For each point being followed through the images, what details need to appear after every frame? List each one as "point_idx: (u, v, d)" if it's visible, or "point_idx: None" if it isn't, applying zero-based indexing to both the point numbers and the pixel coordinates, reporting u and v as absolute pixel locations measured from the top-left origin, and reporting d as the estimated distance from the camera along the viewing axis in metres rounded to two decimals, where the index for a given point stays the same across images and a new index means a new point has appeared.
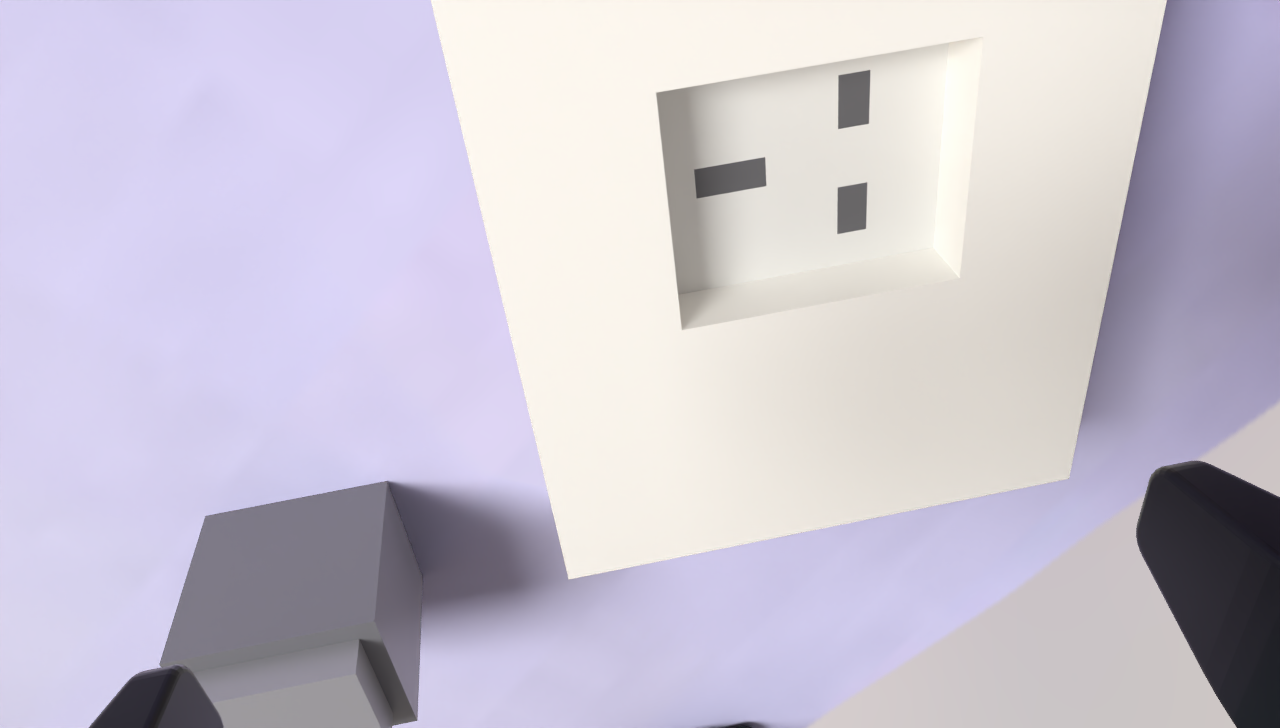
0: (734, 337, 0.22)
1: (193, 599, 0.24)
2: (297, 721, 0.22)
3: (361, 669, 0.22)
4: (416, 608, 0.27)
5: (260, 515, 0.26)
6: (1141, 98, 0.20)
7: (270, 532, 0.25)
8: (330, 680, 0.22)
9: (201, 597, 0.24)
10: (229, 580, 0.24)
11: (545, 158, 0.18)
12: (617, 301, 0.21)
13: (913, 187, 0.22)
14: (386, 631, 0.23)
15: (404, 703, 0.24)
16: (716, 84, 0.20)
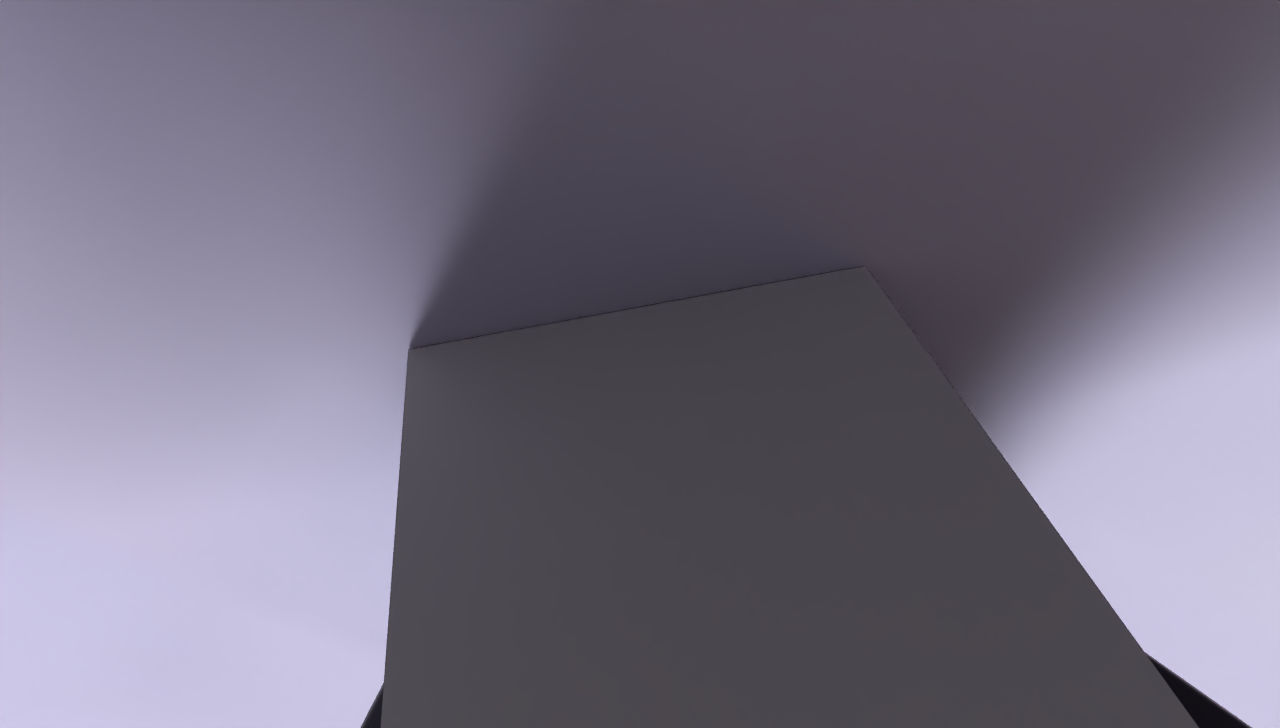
0: None
1: None
2: None
3: None
4: (875, 392, 0.07)
5: None
6: None
7: None
8: None
9: None
10: None
11: None
12: None
13: None
14: None
15: None
16: None
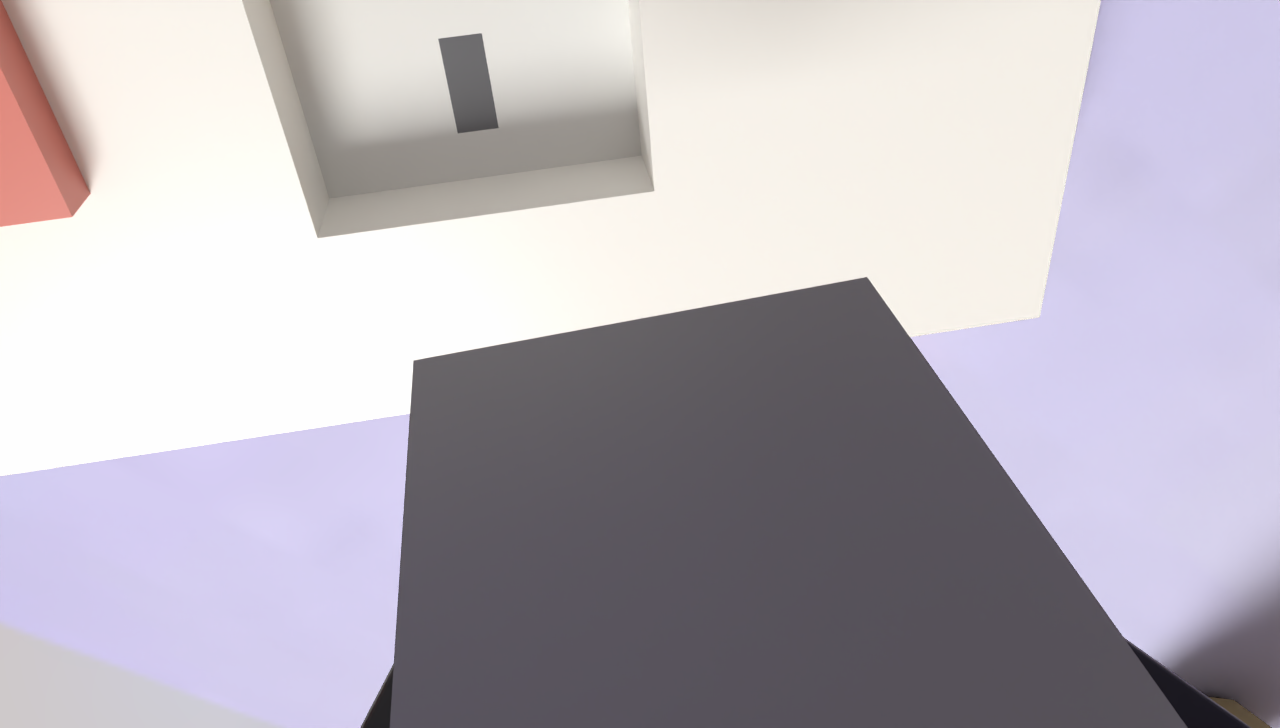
0: (677, 118, 0.15)
1: None
2: None
3: None
4: (877, 404, 0.07)
5: None
6: None
7: None
8: None
9: None
10: None
11: (408, 346, 0.17)
12: (599, 269, 0.16)
13: None
14: None
15: None
16: (341, 112, 0.16)
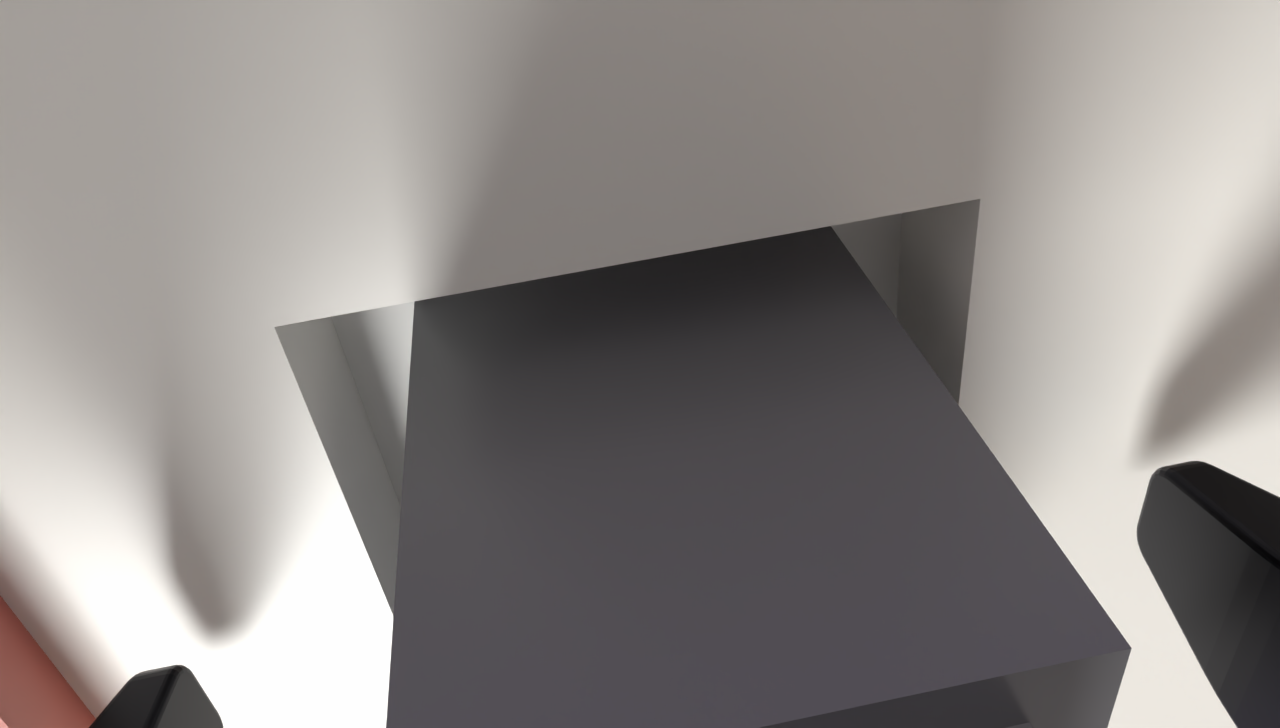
0: None
1: None
2: None
3: None
4: (833, 331, 0.08)
5: None
6: None
7: None
8: None
9: None
10: None
11: None
12: None
13: None
14: (556, 694, 0.05)
15: (988, 692, 0.05)
16: None
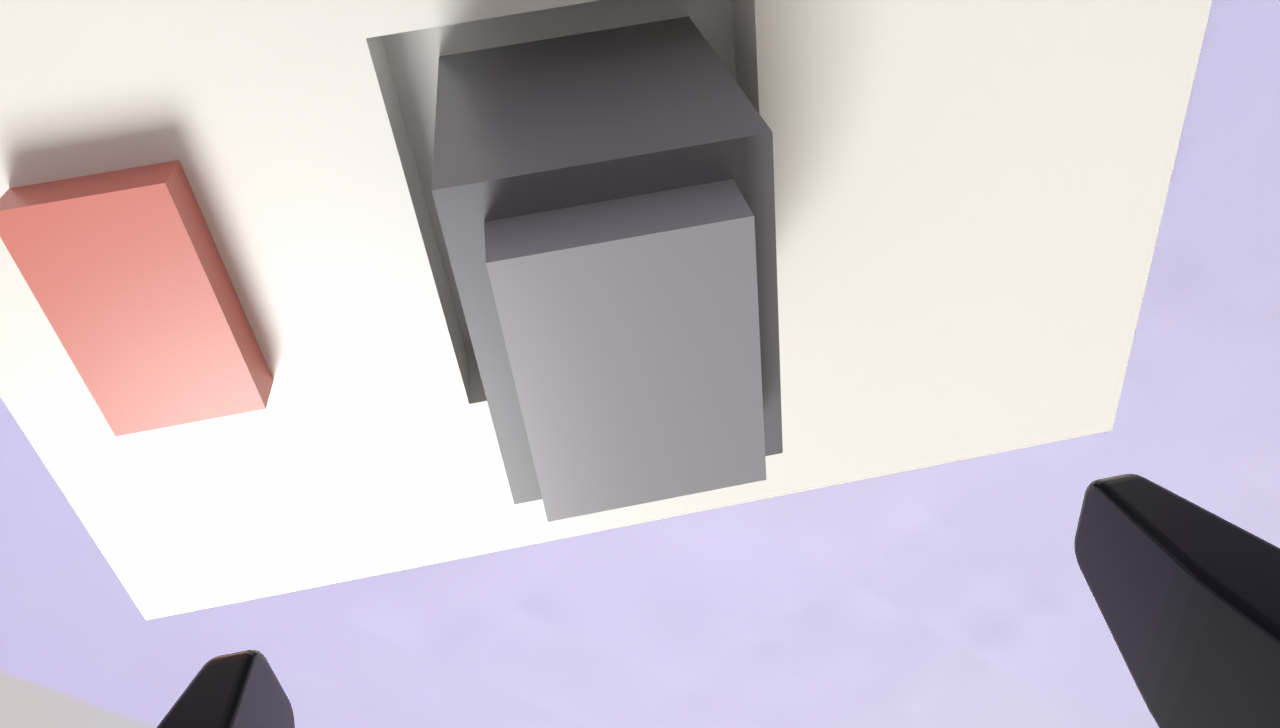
0: (792, 288, 0.17)
1: None
2: (617, 369, 0.11)
3: (518, 239, 0.11)
4: (675, 54, 0.14)
5: None
6: None
7: None
8: (501, 307, 0.11)
9: None
10: None
11: None
12: None
13: (625, 9, 0.15)
14: (511, 160, 0.11)
15: (708, 153, 0.11)
16: None
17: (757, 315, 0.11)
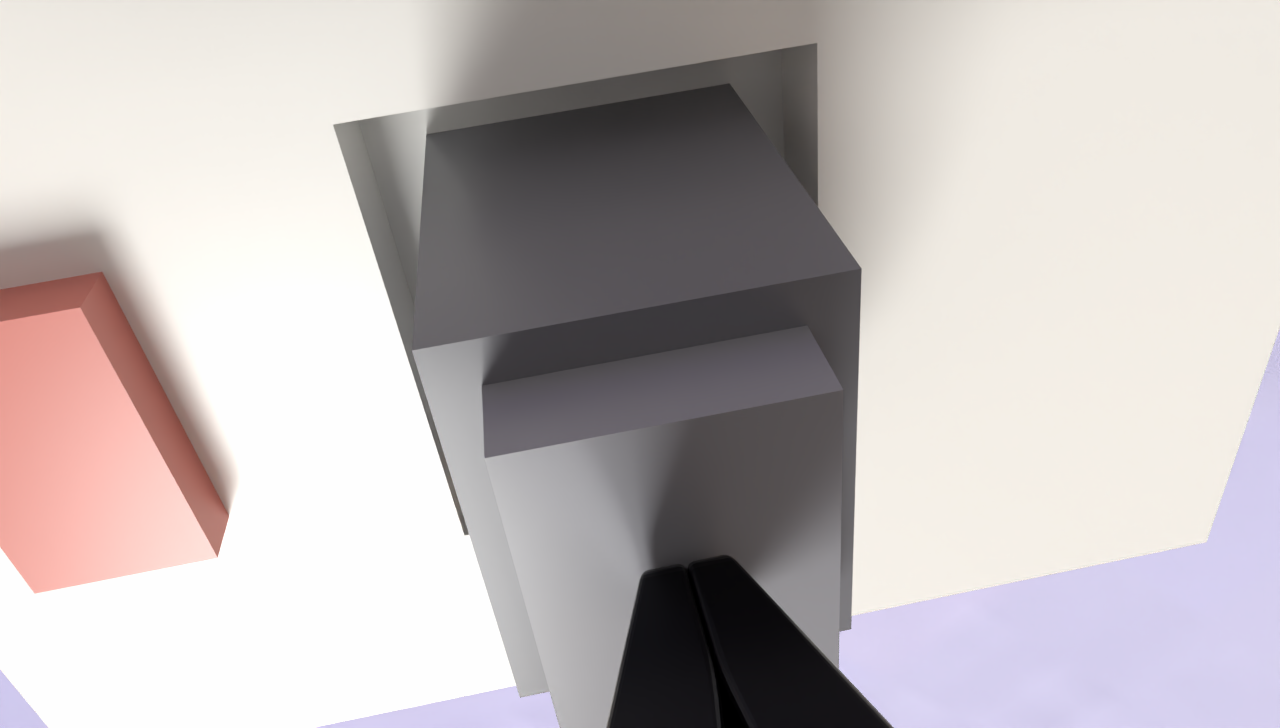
0: None
1: None
2: None
3: (527, 418, 0.08)
4: (718, 138, 0.11)
5: None
6: None
7: None
8: (504, 509, 0.08)
9: None
10: None
11: None
12: None
13: (653, 76, 0.12)
14: (517, 303, 0.09)
15: (776, 296, 0.08)
16: None
17: (839, 503, 0.09)
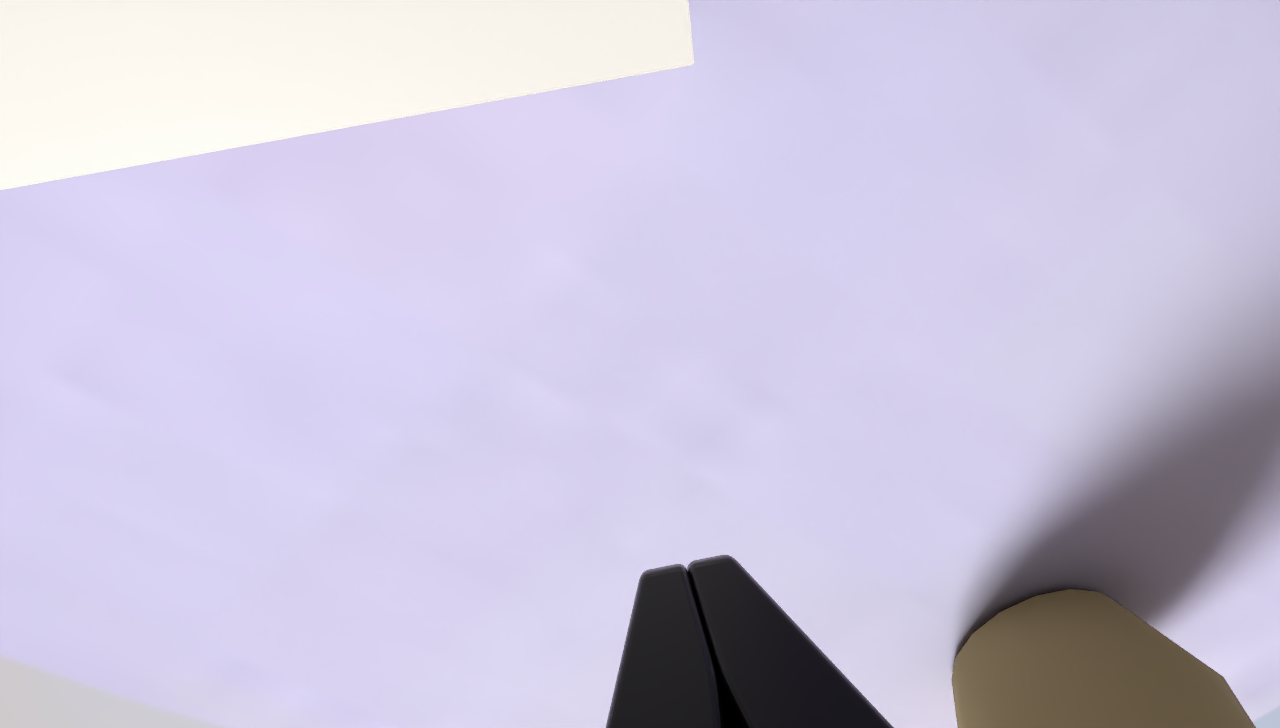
0: None
1: None
2: None
3: None
4: None
5: None
6: None
7: None
8: None
9: None
10: None
11: None
12: None
13: None
14: None
15: None
16: None
17: None
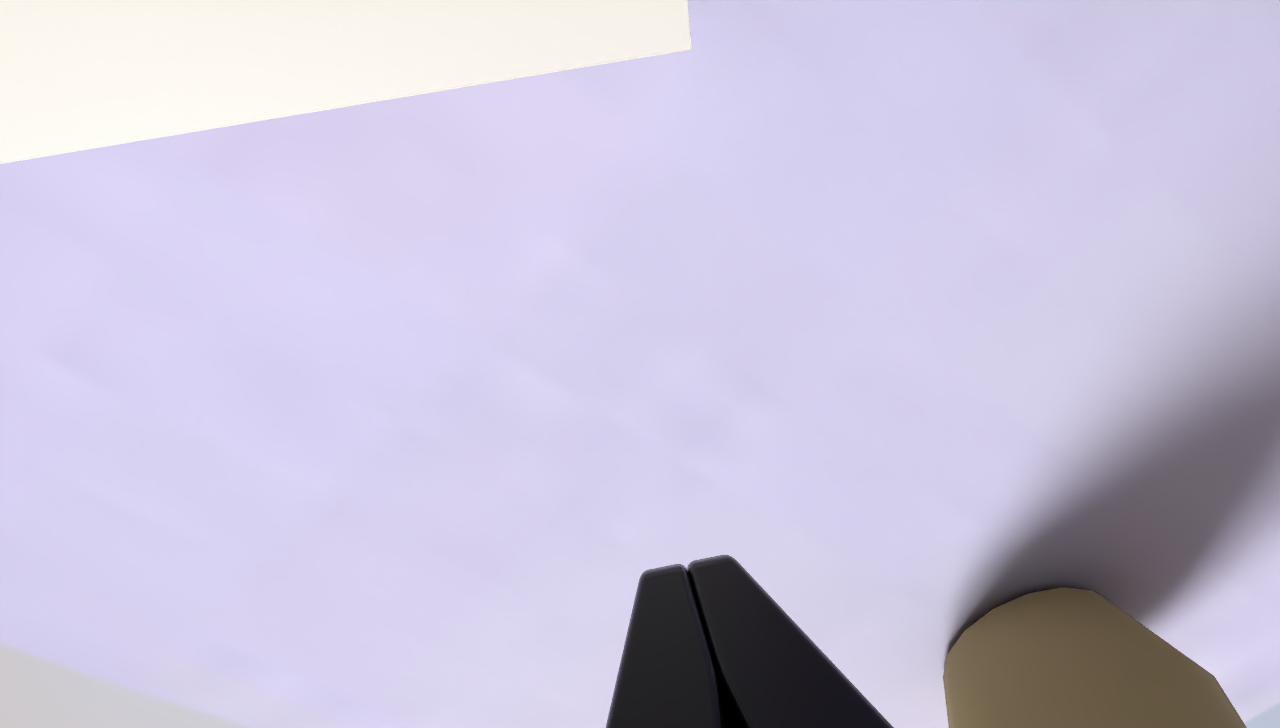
0: None
1: None
2: None
3: None
4: None
5: None
6: None
7: None
8: None
9: None
10: None
11: None
12: None
13: None
14: None
15: None
16: None
17: None
